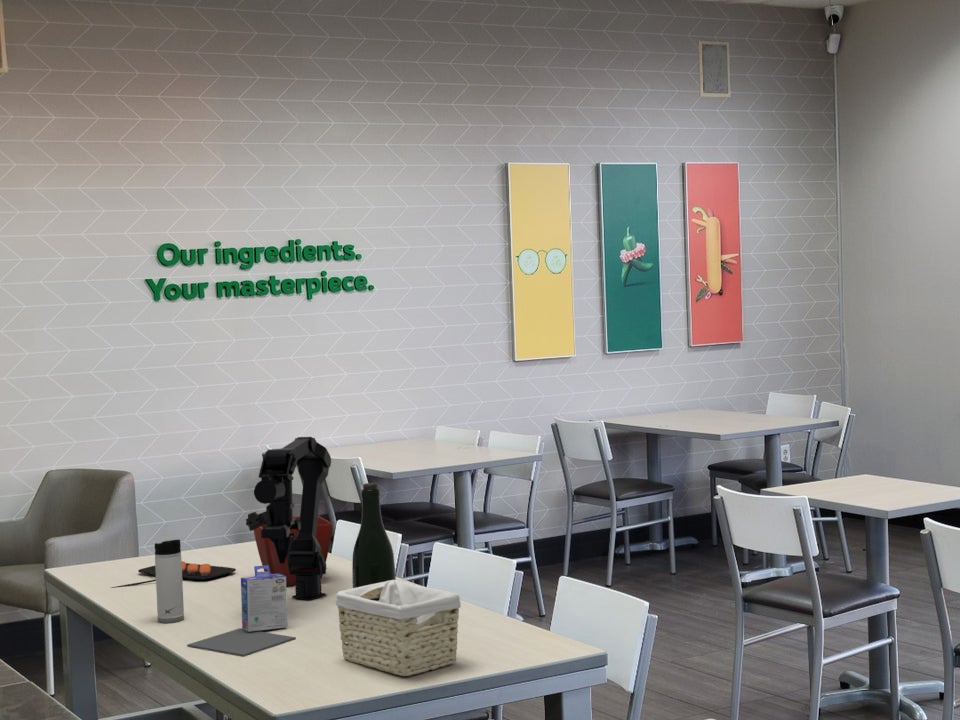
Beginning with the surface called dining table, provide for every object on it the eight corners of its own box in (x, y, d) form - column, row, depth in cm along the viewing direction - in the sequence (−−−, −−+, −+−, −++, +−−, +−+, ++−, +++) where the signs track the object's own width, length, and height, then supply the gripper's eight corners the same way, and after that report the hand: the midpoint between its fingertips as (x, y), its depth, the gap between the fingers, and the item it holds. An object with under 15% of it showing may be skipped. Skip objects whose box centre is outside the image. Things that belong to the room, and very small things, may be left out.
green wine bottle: (378, 613, 290) (373, 479, 289) (406, 620, 282) (401, 482, 281) (344, 622, 282) (339, 484, 281) (372, 629, 275) (366, 487, 274)
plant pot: (320, 571, 344) (317, 513, 344) (335, 584, 326) (333, 523, 326) (254, 578, 338) (251, 520, 337) (266, 591, 320) (263, 529, 319)
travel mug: (171, 624, 287) (167, 542, 286) (152, 621, 290) (148, 540, 290) (190, 618, 292) (186, 537, 292) (171, 616, 296) (167, 536, 295)
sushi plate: (240, 575, 347) (240, 562, 346) (162, 596, 321) (161, 582, 321) (171, 567, 362) (170, 555, 362) (91, 587, 337) (90, 574, 337)
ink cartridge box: (280, 623, 283) (279, 563, 283) (288, 628, 278) (287, 566, 279) (240, 628, 278) (239, 566, 278) (247, 632, 273) (247, 570, 274)
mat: (240, 629, 279) (239, 628, 279) (295, 639, 268) (295, 637, 268) (187, 646, 266) (187, 644, 266) (243, 656, 255) (243, 654, 255)
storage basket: (334, 659, 251) (331, 590, 250) (396, 644, 261) (393, 577, 261) (403, 682, 233) (400, 607, 232) (466, 664, 243) (463, 593, 243)
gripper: (257, 497, 303) (258, 558, 303) (239, 504, 284) (240, 569, 284) (300, 496, 303) (301, 557, 302) (285, 503, 284) (286, 568, 284)
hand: (282, 563), depth 293 cm, fingers closed
